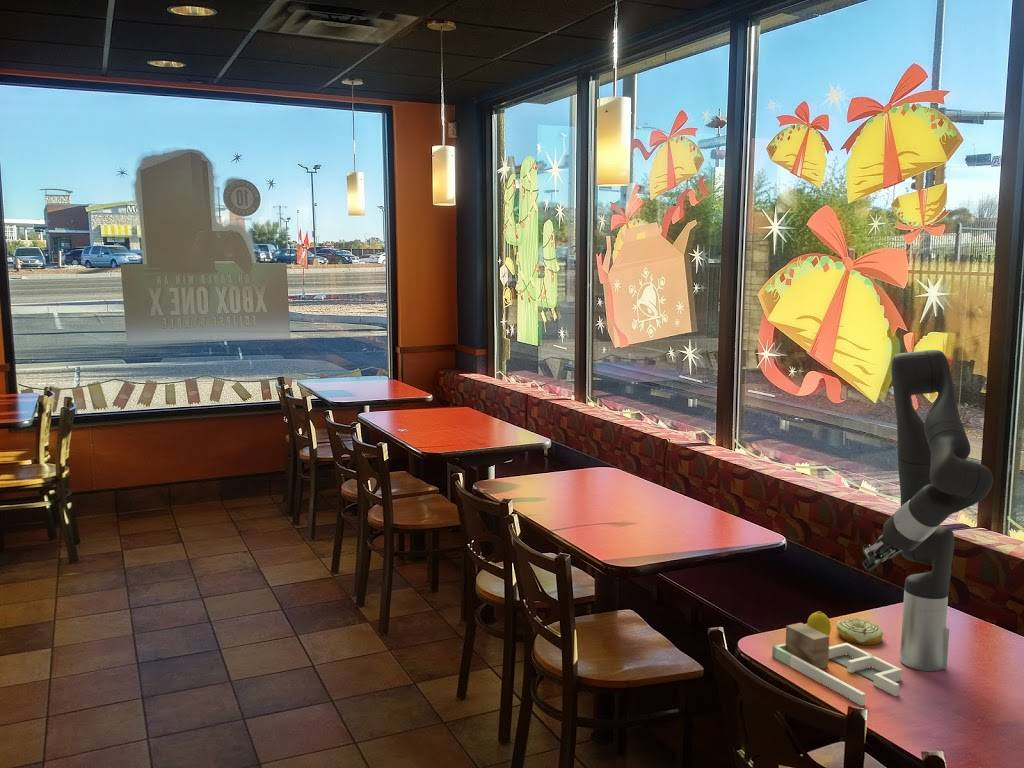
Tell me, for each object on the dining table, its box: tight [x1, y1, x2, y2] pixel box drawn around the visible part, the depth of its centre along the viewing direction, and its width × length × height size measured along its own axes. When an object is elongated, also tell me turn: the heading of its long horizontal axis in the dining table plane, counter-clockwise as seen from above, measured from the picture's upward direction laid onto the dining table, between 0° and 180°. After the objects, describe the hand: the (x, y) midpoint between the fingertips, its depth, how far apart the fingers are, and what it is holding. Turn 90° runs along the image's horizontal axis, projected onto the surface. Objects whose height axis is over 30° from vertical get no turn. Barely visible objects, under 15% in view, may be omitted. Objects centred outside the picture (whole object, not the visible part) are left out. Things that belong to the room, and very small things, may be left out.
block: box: [785, 622, 830, 670], centre depth 210 cm, size 9×4×8 cm, turn 26°
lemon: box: [806, 610, 832, 637], centre depth 220 cm, size 6×6×8 cm
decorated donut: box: [836, 617, 884, 646], centre depth 224 cm, size 10×11×4 cm
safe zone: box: [771, 642, 793, 667], centre depth 212 cm, size 6×11×2 cm, turn 116°
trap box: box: [789, 642, 903, 707], centre depth 202 cm, size 21×18×2 cm
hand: (866, 566), depth 193 cm, fingers closed
